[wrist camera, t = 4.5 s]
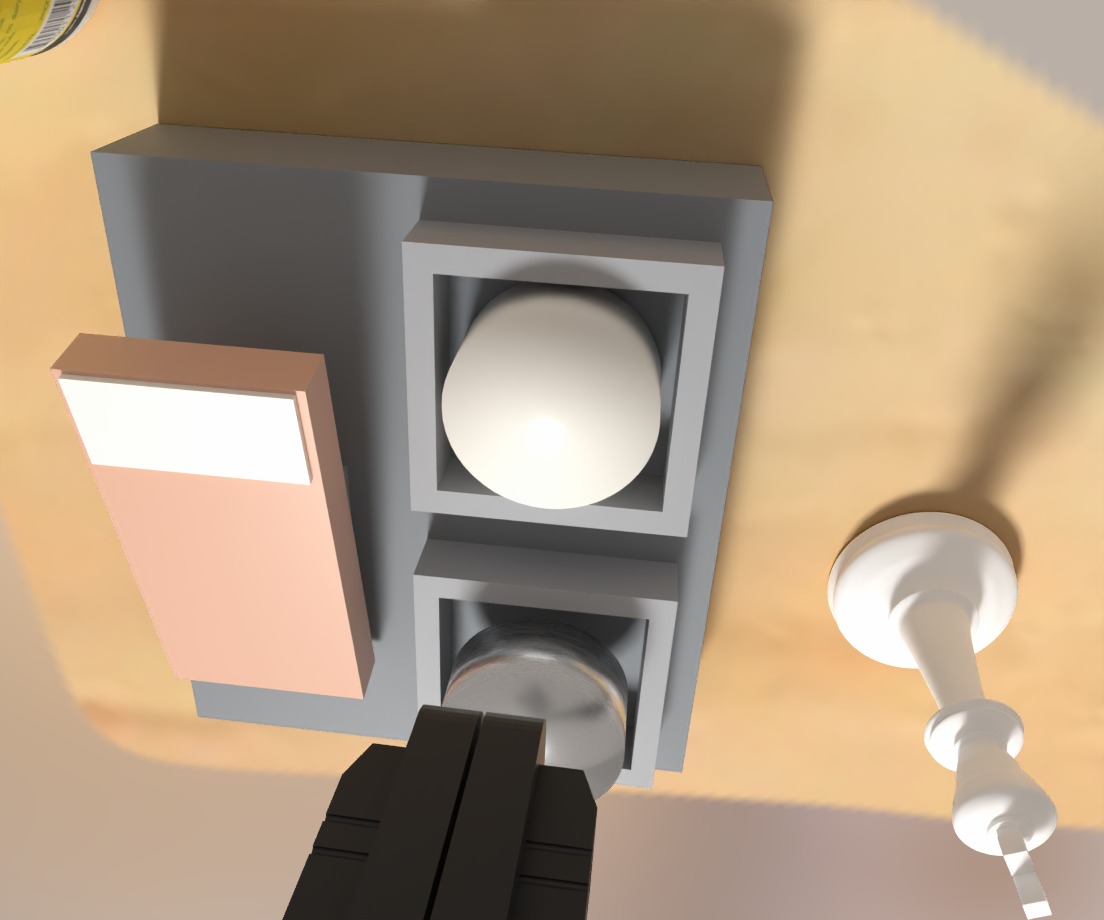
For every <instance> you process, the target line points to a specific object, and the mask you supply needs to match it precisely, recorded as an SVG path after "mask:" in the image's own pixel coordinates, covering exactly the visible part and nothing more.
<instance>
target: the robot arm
mask: <svg viewBox="0 0 1104 920" xmlns="http://www.w3.org/2000/svg"><path fill="white" fill-rule="evenodd" d="M545 745H546V719H541V718H533V717H525V716H517V715H509V714H501V713H493V712H486V714H485V716H484V714H483V712H482V711H474V710H466V709H458V708H450V707H442V706H434V705H426V704H424V705H422V707H421V708H420V710H419V712H418V715H417V718H416V720H415V723H414V726H413V729H412V732H411V735H410V738H409V741H408V743H407V746H406V748H405V747H398V746H390V745H382V744H374V743H373V744H372V745H371V746H370V747H369V748H368V749H367V750H366V751H365V752H364V753H363V754H362V755H361V756H360V757H359V758H358V759H357V760H356V761H355V762H354V763H353V764H352V765H351V766H350V767H349V768H348V769H347V770H346V771H345V772H344V773H343V774H342V776H341V779H340V781H339V784H338V786H337V788H336V791H335V793H334V796H333V798H332V800H331V803H330V805H329V808H328V810H327V813H326V819H325V821H323V822H322V825H321V827H320V830H319V832H318V835H317V837H316V839H315V842H314V844H313V850H312V853H311V854H309V856H308V859H307V861H306V864H305V866H304V869H303V871H302V873H301V876H300V878H299V881H298V883H297V885H296V888H295V890H294V893H293V895H292V898H291V900H290V902H289V905H288V907H287V910H286V912H285V915H284V917H283V919H282V920H587V911H588V902H589V893H590V883H591V871H592V861H593V849H594V837H595V828H596V817H597V806H596V803H595V800H594V798H593V795H592V792H591V789H590V787H589V784H588V781H587V778H586V776H585V773H584V770H579V769H571V768H564V767H556V766H548V765H545Z"/></svg>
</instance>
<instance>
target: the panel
mask: <svg viewBox="0 0 1104 920" xmlns="http://www.w3.org/2000/svg"><path fill="white" fill-rule="evenodd" d="M91 157H92V162H93V168H94V173H95V178H96V184H97V189H98V194H99V199H100V205H101V210H102V215H103V220H104V226H105V231H106V236H107V241H108V247H109V252H110V257H111V262H112V268H113V273H114V278H115V283H116V289H117V294H118V299H119V304H120V310H121V315H122V320H123V325H124V331H125V336H126V337H130V338H141V339H153V340H164V341H176V342H188V343H199V344H211V345H222V346H234V347H245V348H257V349H269V350H280V351H292V352H303V353H315V354H324V359H325V365H326V371H327V377H328V383H329V389H330V395H331V401H332V407H333V413H334V419H335V425H336V431H337V436H338V442H339V448H340V454H341V460H342V466H343V472H344V478H345V484H346V490H347V496H348V502H349V508H350V514H351V520H352V526H353V532H354V538H355V544H356V550H357V555H358V561H359V567H360V573H361V579H362V585H363V591H364V597H365V603H366V609H367V615H368V621H369V627H370V633H371V639H372V645H373V651H374V657H375V664H374V667H373V670H372V673H371V677H370V680H369V683H368V687H367V690H366V693H365V696H364V699H356V698H347V697H338V696H329V695H320V694H311V693H302V692H294V691H285V690H276V689H267V688H258V687H249V686H240V685H231V684H222V683H213V682H204V681H195V680H191V682H192V688H193V693H194V698H195V703H196V709H197V714H198V717H203V718H212V719H221V720H229V721H238V722H247V723H256V724H264V725H273V726H282V727H290V728H299V729H308V730H317V731H325V732H334V733H343V734H351V735H360V736H369V737H378V738H386V739H395V740H404V741H409V738H410V735H411V732H412V729H413V726H414V723H415V720H416V718H417V715H418V712H419V710H420V708H421V707H422V705H424V704H426V705H434V706H442V704H443V700H444V697H445V693H446V690H447V686H448V683H449V679H450V676H451V673H452V669H453V666H454V662H455V660H456V657H457V655H458V653H459V652H460V650H461V649H462V647H463V646H464V645H465V643H466V642H467V641H468V640H469V639H470V638H472V637H473V636H474V635H475V634H477V633H478V632H480V631H481V630H483V629H485V628H487V627H489V626H491V625H494V624H496V623H499V622H503V621H507V620H512V619H518V618H543V619H550V620H555V621H559V622H563V623H567V624H569V625H572V626H575V627H577V628H579V629H581V630H583V631H585V632H587V633H589V634H591V635H592V636H594V637H595V638H597V639H598V640H599V641H601V642H602V643H603V644H604V645H605V646H606V647H607V648H608V649H609V650H610V651H611V652H612V653H613V654H614V656H615V657H616V658H617V660H618V661H619V663H620V665H621V667H622V669H623V671H624V673H625V677H626V680H627V686H628V700H627V718H626V735H625V753H624V762H623V767H622V770H621V772H620V775H619V777H618V778H617V780H616V781H615V783H614V784H616V785H625V786H633V787H642V788H651V789H652V785H653V778H654V771H655V769H656V770H665V771H674V772H682V770H683V763H684V757H685V751H686V744H687V738H688V732H689V726H690V719H691V713H692V707H693V701H694V694H695V688H696V682H697V676H698V669H699V663H700V657H701V651H702V644H703V638H704V632H705V625H706V619H707V613H708V607H709V600H710V594H711V588H712V582H713V575H714V569H715V563H716V557H717V550H718V544H719V538H720V531H721V525H722V519H723V513H724V506H725V500H726V494H727V488H728V481H729V475H730V469H731V463H732V456H733V450H734V444H735V438H736V431H737V425H738V419H739V412H740V406H741V400H742V394H743V387H744V381H745V375H746V369H747V362H748V356H749V350H750V344H751V337H752V331H753V325H754V319H755V312H756V306H757V300H758V293H759V287H760V281H761V275H762V268H763V262H764V256H765V250H766V243H767V237H768V231H769V225H770V218H771V212H772V206H773V199H772V197H771V194H770V191H769V188H768V185H767V182H766V179H765V176H764V173H763V170H762V167H761V166H752V165H738V164H723V163H709V162H695V161H680V160H666V159H652V158H638V157H623V156H609V155H595V154H581V153H566V152H552V151H538V150H524V149H509V148H495V147H481V146H466V145H452V144H438V143H424V142H409V141H395V140H381V139H367V138H352V137H338V136H324V135H310V134H295V133H281V132H267V131H252V130H238V129H224V128H210V127H195V126H181V125H167V124H156V125H153V126H151V127H148V128H146V129H144V130H141V131H139V132H137V133H134V134H132V135H129V136H127V137H125V138H122V139H120V140H118V141H115V142H113V143H110V144H108V145H106V146H103V147H101V148H99V149H96V150H94V151H91ZM528 281H530V282H542V283H555V284H567V285H580V286H592V287H602V288H605V289H606V290H608V291H610V292H612V293H613V294H615V295H617V296H618V297H620V298H621V299H622V300H624V301H625V302H626V303H628V304H629V305H630V306H631V307H632V308H633V309H634V310H635V311H636V312H637V313H638V314H639V316H640V317H641V318H642V320H643V321H644V322H645V323H646V325H647V327H648V329H649V330H650V332H651V334H652V336H653V338H654V341H655V343H656V345H657V349H658V353H659V357H660V363H661V408H660V428H659V433H658V439H657V442H656V444H655V447H654V450H653V452H652V454H651V456H650V458H649V460H648V462H647V463H646V465H645V466H644V467H643V469H642V470H641V472H640V473H639V474H638V475H637V476H636V477H635V478H634V479H633V480H632V481H631V482H630V483H629V484H628V485H626V486H625V487H624V488H623V489H621V490H620V491H618V492H616V493H615V494H613V495H611V496H610V497H608V498H605V499H603V500H601V501H599V502H596V503H592V504H589V505H586V506H581V507H576V508H567V509H545V508H539V507H532V506H528V505H524V504H521V503H518V502H515V501H512V500H510V499H507V498H505V497H503V496H501V495H499V494H497V493H495V492H494V491H492V490H491V489H489V488H488V487H486V486H485V485H483V484H482V483H481V482H480V481H479V480H477V479H476V478H475V477H474V476H473V475H472V474H471V473H470V472H469V471H468V470H467V469H466V468H465V467H464V465H463V464H462V463H461V461H460V460H459V458H458V457H457V456H456V454H455V452H454V450H453V448H452V446H451V445H450V442H449V440H448V437H447V434H446V432H445V427H444V423H443V418H442V393H443V388H444V383H445V380H446V377H447V374H448V372H449V369H450V367H451V365H452V363H453V361H454V359H455V356H456V354H457V352H458V350H459V348H460V346H461V344H462V342H463V340H464V338H465V336H466V334H467V332H468V330H469V328H470V326H471V324H472V322H473V321H474V319H475V318H476V316H477V315H478V314H479V312H480V311H481V310H482V309H483V308H484V307H485V306H486V305H487V304H488V303H489V302H490V301H491V300H492V299H494V298H495V297H496V296H498V295H499V294H500V293H502V292H504V291H506V290H508V289H509V288H511V287H514V286H516V285H519V284H521V283H524V282H528Z"/></svg>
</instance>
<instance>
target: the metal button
mask: <svg viewBox="0 0 1104 920" xmlns="http://www.w3.org/2000/svg"><path fill="white" fill-rule="evenodd" d="M627 700H628V686H627V680H626V677H625V673H624V671H623V669H622V667H621V665H620V663H619V661H618V660H617V658H616V657H615V656H614V654H613V653H612V652H611V651H610V650H609V649H608V648H607V647H606V646H605V645H604V644H603V643H602V642H601V641H599V640H598V639H597V638H595V637H594V636H592V635H591V634H589V633H587V632H585V631H583V630H581V629H579V628H577V627H575V626H572V625H569V624H567V623H563V622H559V621H555V620H550V619H543V618H518V619H512V620H507V621H503V622H499V623H496V624H494V625H491V626H489V627H487V628H485V629H483V630H481V631H480V632H478V633H477V634H475V635H474V636H473V637H472V638H470V639H469V640H468V641H467V642H466V643H465V645H464V646H463V647H462V649H461V650H460V652H459V653H458V655H457V657H456V660H455V662H454V666H453V669H452V673H451V676H450V679H449V683H448V686H447V690H446V693H445V697H444V700H443V704H442V707H450V708H458V709H466V710H474V711H482V712H483V714H484V716H485V714H486V712H493V713H501V714H509V715H517V716H525V717H533V718H541V719H546V745H545V765H548V766H556V767H564V768H571V769H579V770H584V773H585V776H586V778H587V781H588V784H589V787H590V789H591V792H592V795H593V798H594V800H596V799H598V798H600V797H601V796H602V795H603V794H605V793H606V792H607V791H608V790H609V789H610V788H611V787H612V786H613V784H614V783H615V781H616V780H617V778H618V777H619V775H620V772H621V770H622V767H623V762H624V753H625V735H626V718H627Z"/></svg>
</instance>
